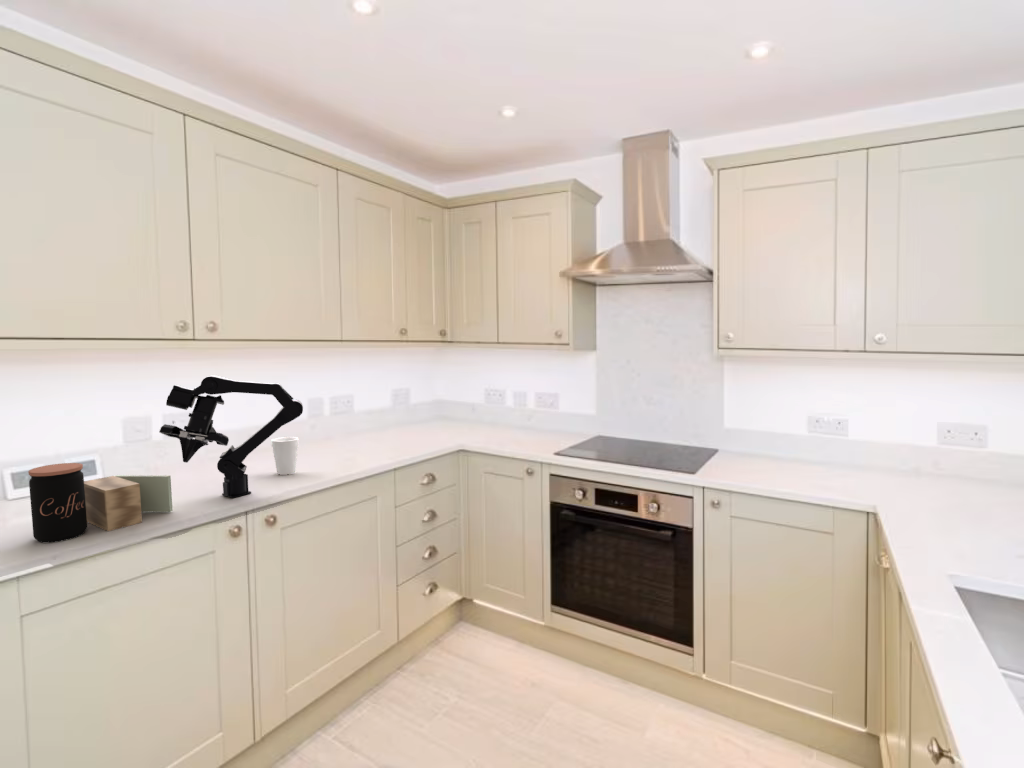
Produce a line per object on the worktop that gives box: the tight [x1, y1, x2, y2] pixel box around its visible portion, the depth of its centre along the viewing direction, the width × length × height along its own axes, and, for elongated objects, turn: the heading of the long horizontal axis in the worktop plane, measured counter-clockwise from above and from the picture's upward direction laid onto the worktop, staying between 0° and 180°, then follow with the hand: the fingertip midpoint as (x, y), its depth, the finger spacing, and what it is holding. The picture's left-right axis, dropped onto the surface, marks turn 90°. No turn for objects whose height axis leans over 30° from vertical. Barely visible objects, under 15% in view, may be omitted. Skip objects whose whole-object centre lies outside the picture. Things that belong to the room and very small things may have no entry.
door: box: [115, 474, 173, 513], centre depth 155 cm, size 2×16×11 cm, turn 88°
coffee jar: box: [27, 462, 88, 543], centre depth 136 cm, size 11×11×18 cm
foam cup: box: [270, 436, 300, 476], centre depth 200 cm, size 10×9×13 cm
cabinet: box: [84, 475, 143, 532], centre depth 147 cm, size 8×16×11 cm, turn 58°
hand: (185, 462), depth 161 cm, fingers closed
